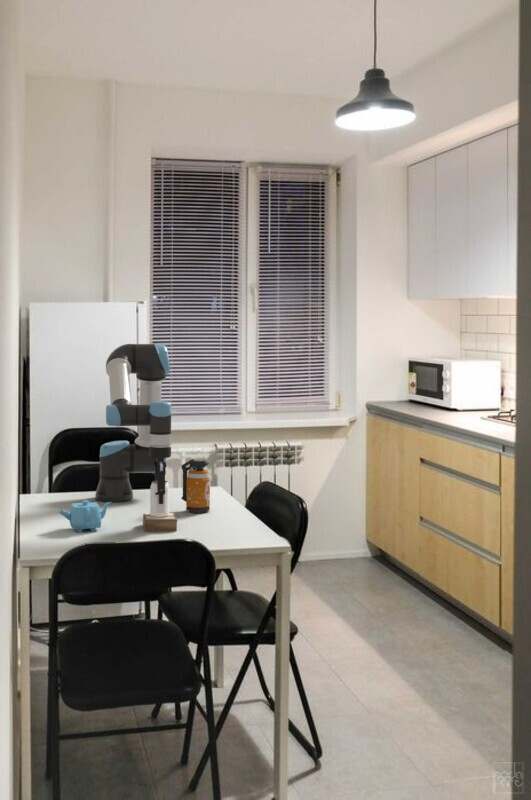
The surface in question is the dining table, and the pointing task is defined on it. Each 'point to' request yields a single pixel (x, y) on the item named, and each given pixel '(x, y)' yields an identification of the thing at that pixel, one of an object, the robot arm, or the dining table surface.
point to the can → (154, 500)
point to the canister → (196, 486)
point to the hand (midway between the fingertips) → (159, 510)
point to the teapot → (85, 515)
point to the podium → (159, 523)
